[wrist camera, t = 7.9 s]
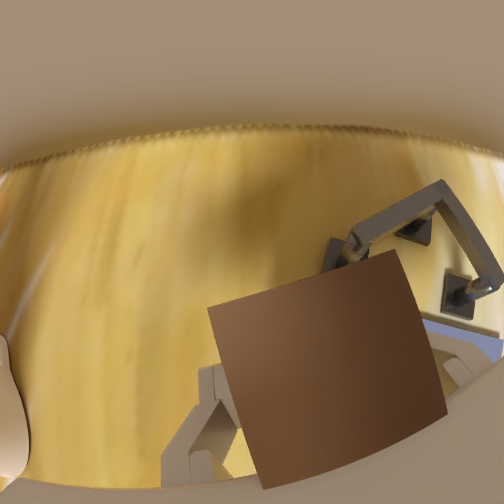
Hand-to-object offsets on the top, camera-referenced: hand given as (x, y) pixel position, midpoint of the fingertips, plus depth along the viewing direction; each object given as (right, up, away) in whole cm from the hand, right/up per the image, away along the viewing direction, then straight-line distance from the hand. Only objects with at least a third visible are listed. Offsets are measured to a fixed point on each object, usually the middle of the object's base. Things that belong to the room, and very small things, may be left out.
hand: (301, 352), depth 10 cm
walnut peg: (+1, -3, +5) cm, 6 cm away
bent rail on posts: (+10, +3, +11) cm, 15 cm away
